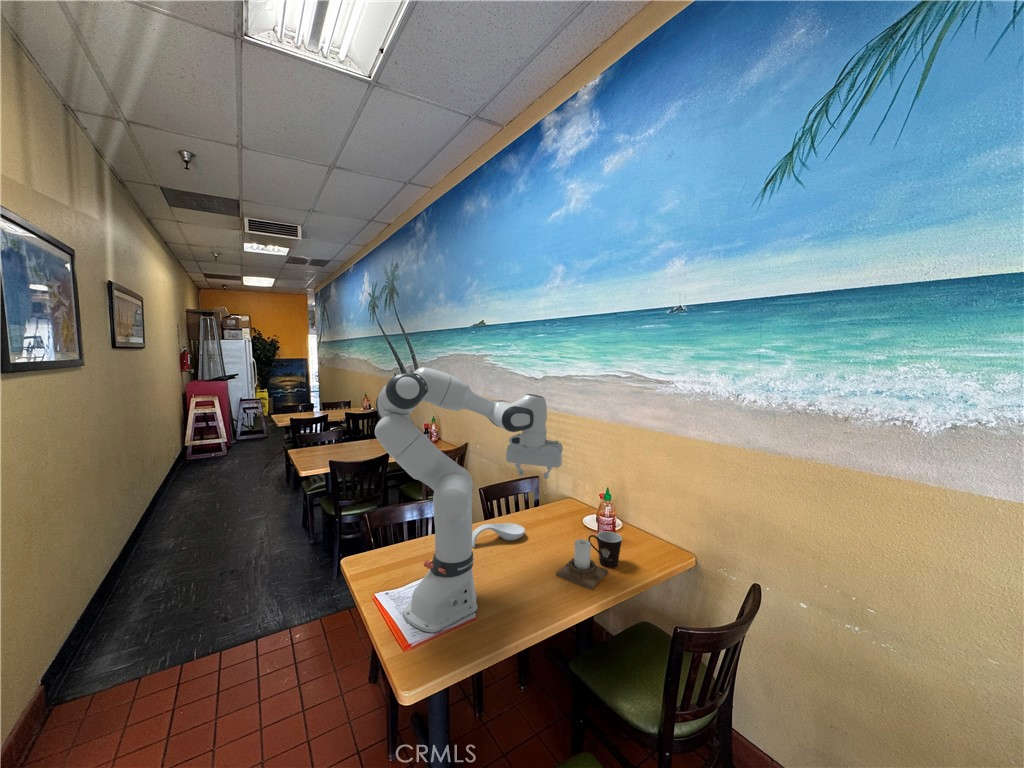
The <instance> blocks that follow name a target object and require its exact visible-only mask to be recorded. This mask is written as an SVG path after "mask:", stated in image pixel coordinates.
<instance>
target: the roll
mask: <svg viewBox="0 0 1024 768" xmlns="http://www.w3.org/2000/svg"><path fill="white" fill-rule="evenodd" d="M591 543H592V542H591ZM591 543H590V542H589V540H588V539H583V538H582V539H579V538H578V539H576V540H575V541H574V555H573V556H574V557H573V558H574V567H575V568H577V569H580V570H590V560H591V552H592V551H591V550H592V549H591V547H592V546H591Z"/></svg>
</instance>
